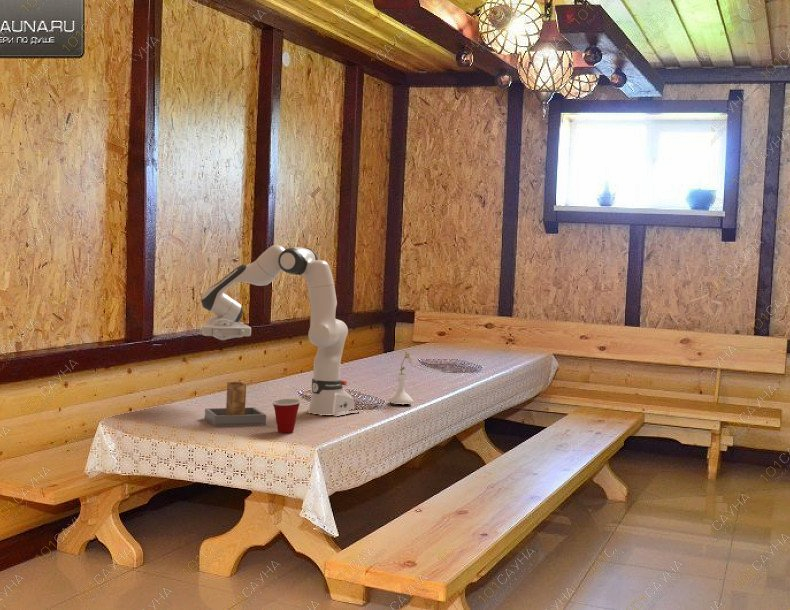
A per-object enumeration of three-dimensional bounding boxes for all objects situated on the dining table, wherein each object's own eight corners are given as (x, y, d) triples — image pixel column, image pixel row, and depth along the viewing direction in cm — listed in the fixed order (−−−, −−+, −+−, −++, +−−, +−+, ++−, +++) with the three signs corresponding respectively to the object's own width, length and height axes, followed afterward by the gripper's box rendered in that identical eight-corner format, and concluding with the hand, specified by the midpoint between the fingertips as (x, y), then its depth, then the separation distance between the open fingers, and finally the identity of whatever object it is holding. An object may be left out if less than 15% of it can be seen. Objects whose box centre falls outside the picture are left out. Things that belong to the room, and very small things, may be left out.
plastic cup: (267, 429, 394) (268, 398, 393) (295, 428, 398) (296, 397, 397) (274, 435, 384) (275, 403, 383) (302, 434, 388) (304, 402, 387)
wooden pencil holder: (239, 417, 409) (241, 382, 408) (244, 420, 403) (246, 384, 402) (225, 417, 407) (227, 382, 406) (230, 421, 401) (232, 385, 400)
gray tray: (254, 417, 416) (254, 407, 416) (265, 425, 402) (266, 414, 401) (204, 418, 408) (205, 408, 408) (214, 426, 394) (215, 416, 393)
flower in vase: (410, 407, 456) (413, 351, 454) (384, 405, 458) (387, 349, 456) (415, 403, 469) (418, 348, 467) (390, 400, 471) (393, 346, 469)
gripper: (198, 321, 433) (206, 325, 420) (246, 322, 441) (255, 325, 428) (197, 336, 433) (205, 340, 420) (245, 336, 441) (254, 340, 429)
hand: (231, 333), depth 424 cm, fingers open, 8 cm apart
